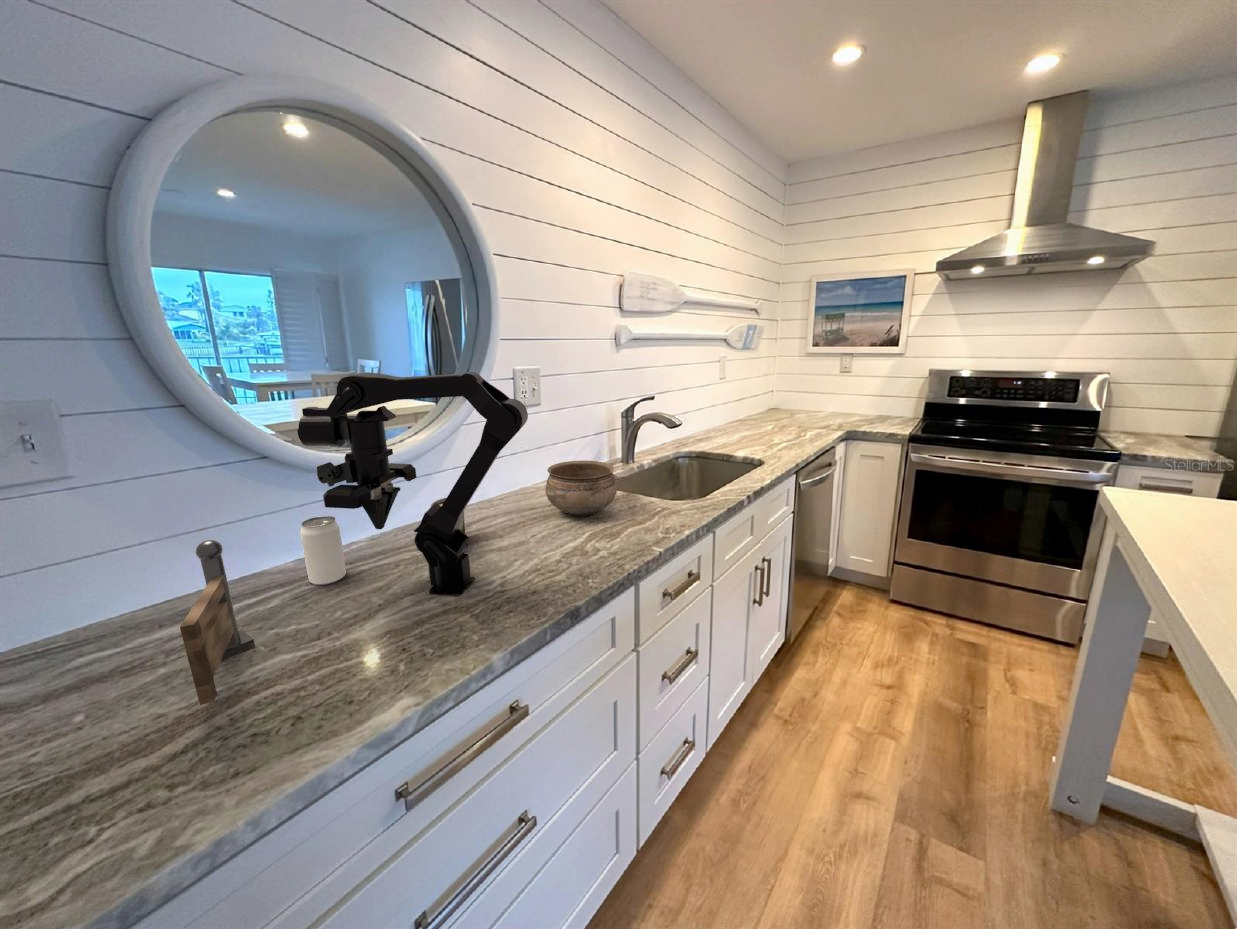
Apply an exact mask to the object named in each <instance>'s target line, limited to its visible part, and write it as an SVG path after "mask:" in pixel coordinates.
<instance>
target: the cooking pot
mask: <svg viewBox="0 0 1237 929" xmlns="http://www.w3.org/2000/svg"><path fill="white" fill-rule="evenodd" d="M614 471H615V467H614V466H613V465H612V464H611V463H607V462H602V461H598V460H569V461H564V462H558V463H555V464H551V465H550V466H549V467H547V472H548V474H549V475H548V477H547V479H546V484H545V495H546V497H547V500H548V501H549V503H550V504H552V505H553V507H555V508H556V509H558V510H561V511H562V512H564V513H567V514H568V515H570V516H573V517H577V518H578V517H580V518H585V517H589V516H592V515H594V514H596V513H598V512H600V511H602V510H604V509H605V508H607V507H608V506H609V505H610V504H612V502H613V501H614V499H615V497H616V495H617V491H618V490H617V489H618V485H617V482H616V478H615V475H614V473H613V472H614Z"/></svg>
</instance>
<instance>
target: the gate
mask: <svg viewBox="0 0 1237 929" xmlns="http://www.w3.org/2000/svg"><path fill="white" fill-rule="evenodd" d="M179 630H180V633H181V637H182V642H183V644H184V648H185V653H186V656H187V661H188V664H189V668H190V671H191V676H192V679H193V683H194V686H195V691H196V694H197V698H198V703H199V706H203V705H206V704H210V703H214V702H215V701H216V698H217V695H218V693H217V692H218V691H217V688H216V683H215V681H214V680H215V678H214V676H215V674H216V672H217V671H218V668H219V665H220V663H221V662H222V661H221V659H222V657H223V655H224V652H225V650H226V649H230V648H234V647H237V646H238V644H239V637H238V633H237V628H236V624H235V619H234V615H233V610H232V606H231V602H230V597H229V593H228V588H227V584H226V580H225V575H220V576H214V577H212V578H211V580H210V581H209V583H208V584H207V586H205V588H204V589H203V590H202V592H201V594H200V596H199V597H198V598H197V599H196V601H195V603H194V605H193V606H192V607H191V609H190V611H189V613H188V614H187V615H186V617H185V619H184V620H183V622H182V623H181V625H180V626H179Z"/></svg>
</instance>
